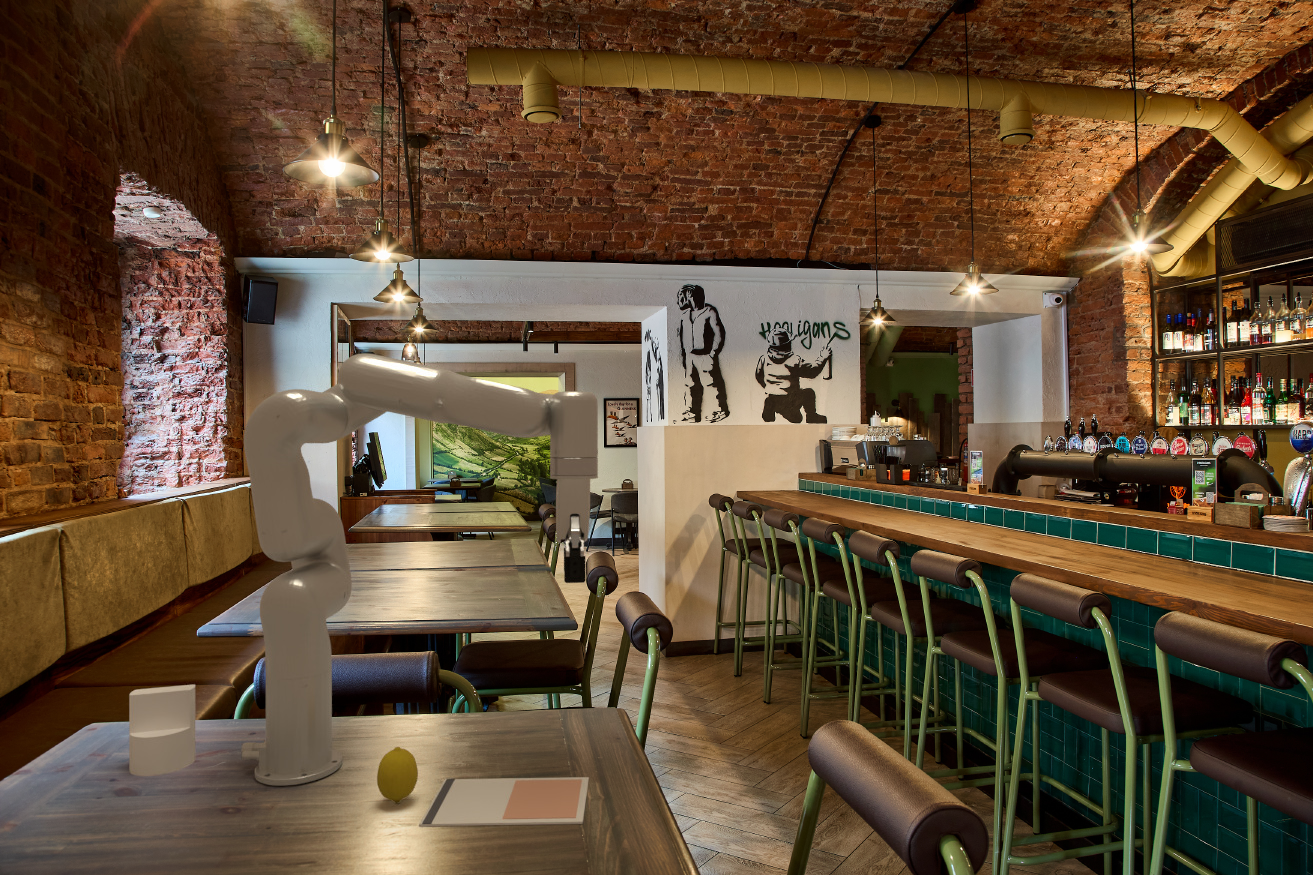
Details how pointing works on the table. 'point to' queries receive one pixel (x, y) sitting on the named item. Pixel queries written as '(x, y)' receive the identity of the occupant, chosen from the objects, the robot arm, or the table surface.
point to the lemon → (397, 774)
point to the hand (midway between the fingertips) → (574, 576)
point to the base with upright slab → (161, 729)
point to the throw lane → (508, 802)
